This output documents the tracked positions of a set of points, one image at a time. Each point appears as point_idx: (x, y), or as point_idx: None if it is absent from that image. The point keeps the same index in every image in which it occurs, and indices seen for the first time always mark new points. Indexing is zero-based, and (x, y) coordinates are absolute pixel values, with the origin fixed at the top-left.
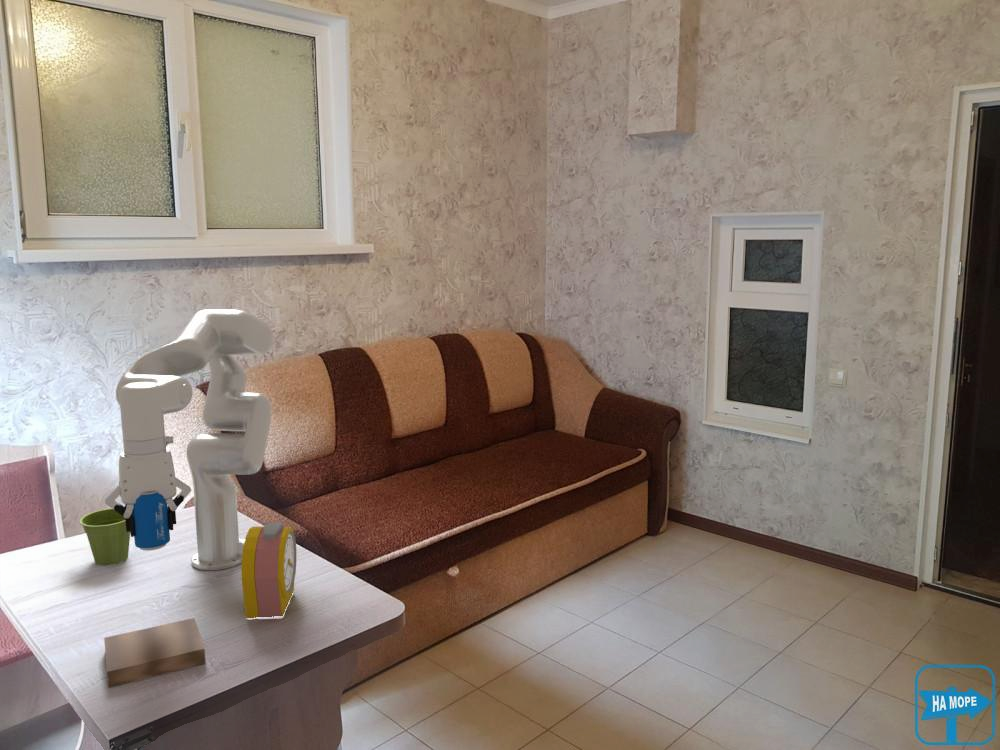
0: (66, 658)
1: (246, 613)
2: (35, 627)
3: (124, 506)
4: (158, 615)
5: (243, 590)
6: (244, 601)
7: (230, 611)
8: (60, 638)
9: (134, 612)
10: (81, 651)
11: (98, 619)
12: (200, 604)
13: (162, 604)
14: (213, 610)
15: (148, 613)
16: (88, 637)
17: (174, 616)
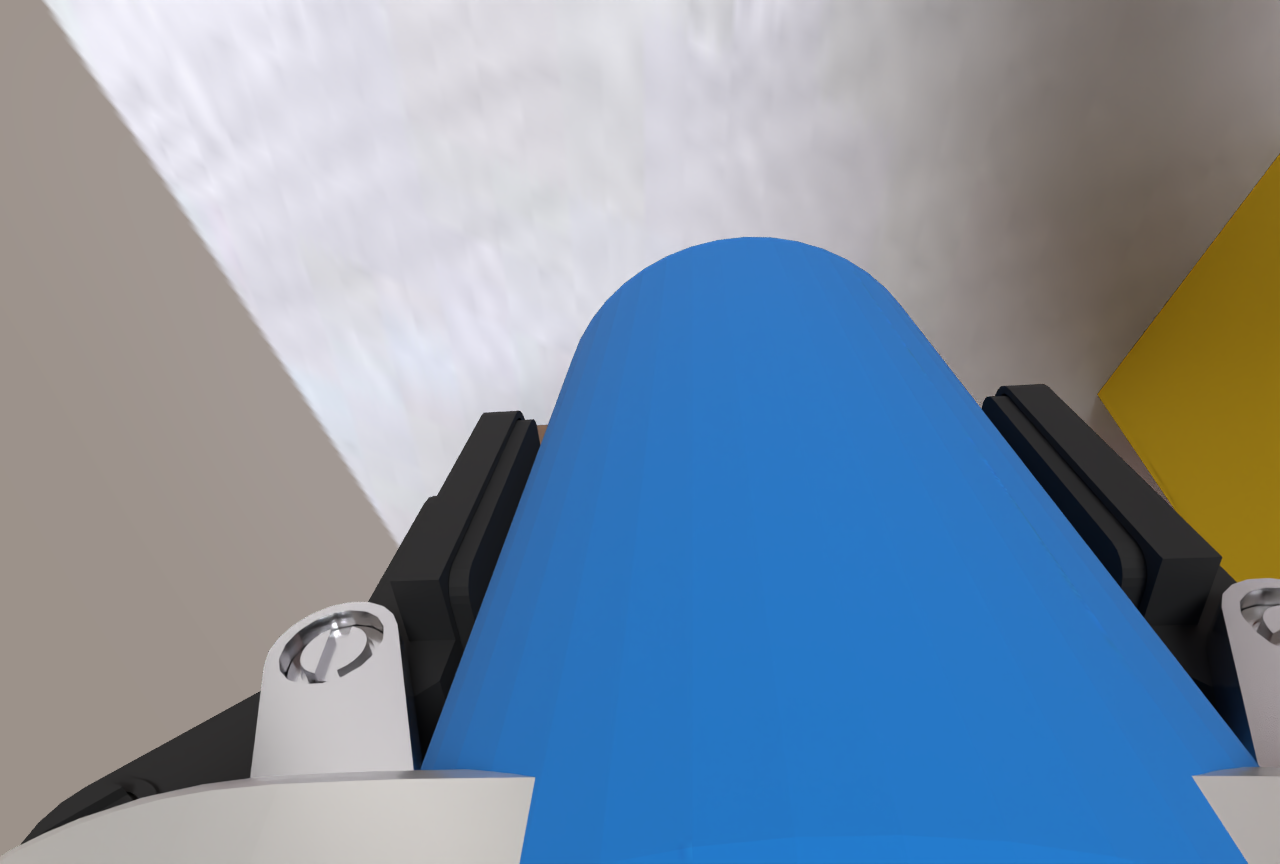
0: (356, 411)
1: (1116, 420)
2: (93, 25)
3: (256, 734)
4: (715, 159)
5: (1180, 514)
6: (1145, 465)
7: (1066, 273)
8: (273, 219)
9: (591, 57)
10: (401, 380)
11: (407, 68)
12: (950, 111)
13: (747, 8)
14: (992, 223)
15: (665, 108)
16: (401, 264)
17: (793, 208)
